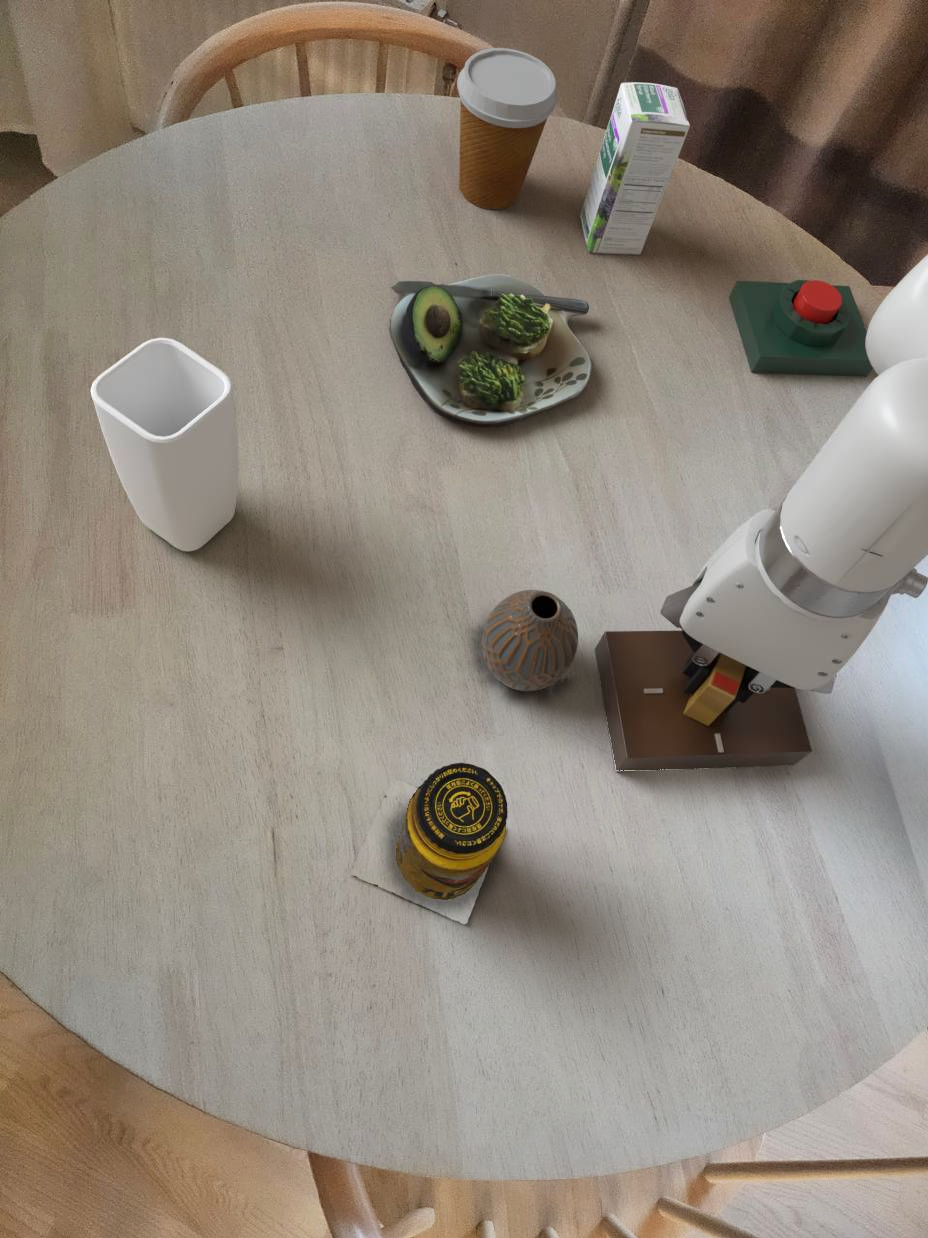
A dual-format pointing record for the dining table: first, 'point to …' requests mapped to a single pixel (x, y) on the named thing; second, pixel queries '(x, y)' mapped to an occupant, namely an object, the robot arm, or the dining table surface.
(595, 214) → the syrup box
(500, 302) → the avocado toast plate
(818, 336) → the green button box
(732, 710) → the plate
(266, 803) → the dining table surface
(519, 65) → the disposable coffee cup
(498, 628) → the vase
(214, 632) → the dining table surface
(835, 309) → the round red push button
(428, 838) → the condiment
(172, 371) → the cup
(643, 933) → the dining table surface
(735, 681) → the thumbturn
